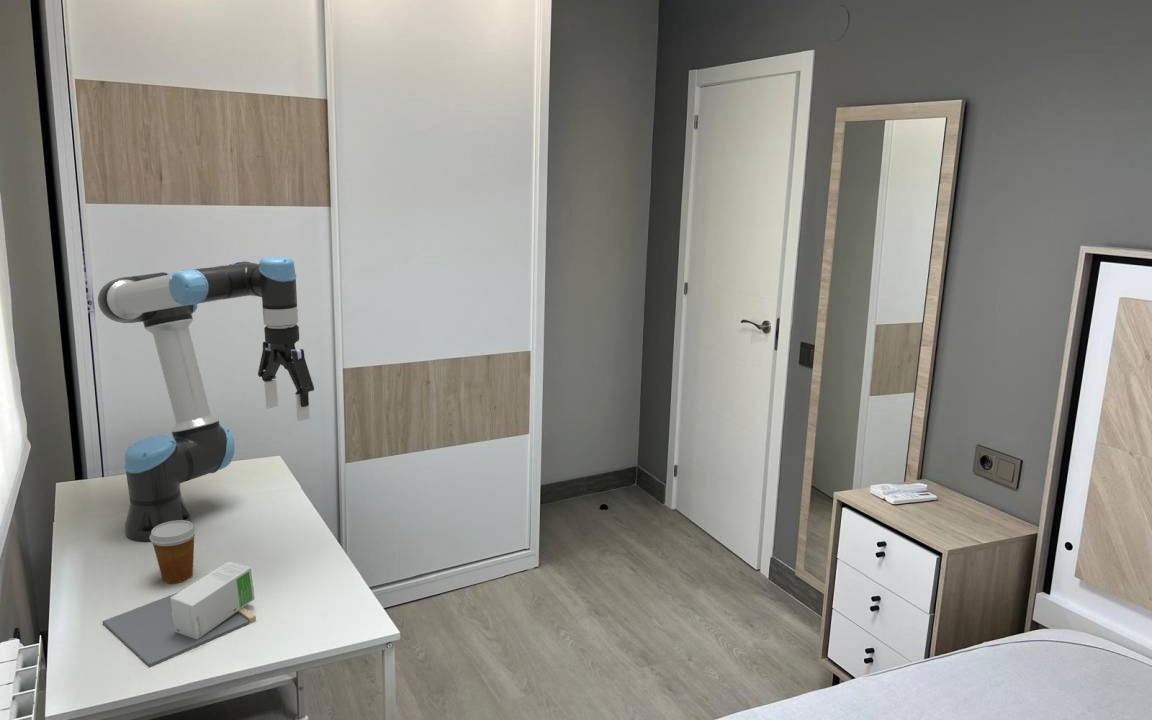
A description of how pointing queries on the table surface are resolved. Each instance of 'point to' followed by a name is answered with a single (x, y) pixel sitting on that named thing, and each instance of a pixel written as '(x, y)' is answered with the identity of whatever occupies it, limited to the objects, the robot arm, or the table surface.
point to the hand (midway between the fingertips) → (287, 413)
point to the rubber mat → (165, 631)
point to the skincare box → (212, 599)
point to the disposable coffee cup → (174, 549)
